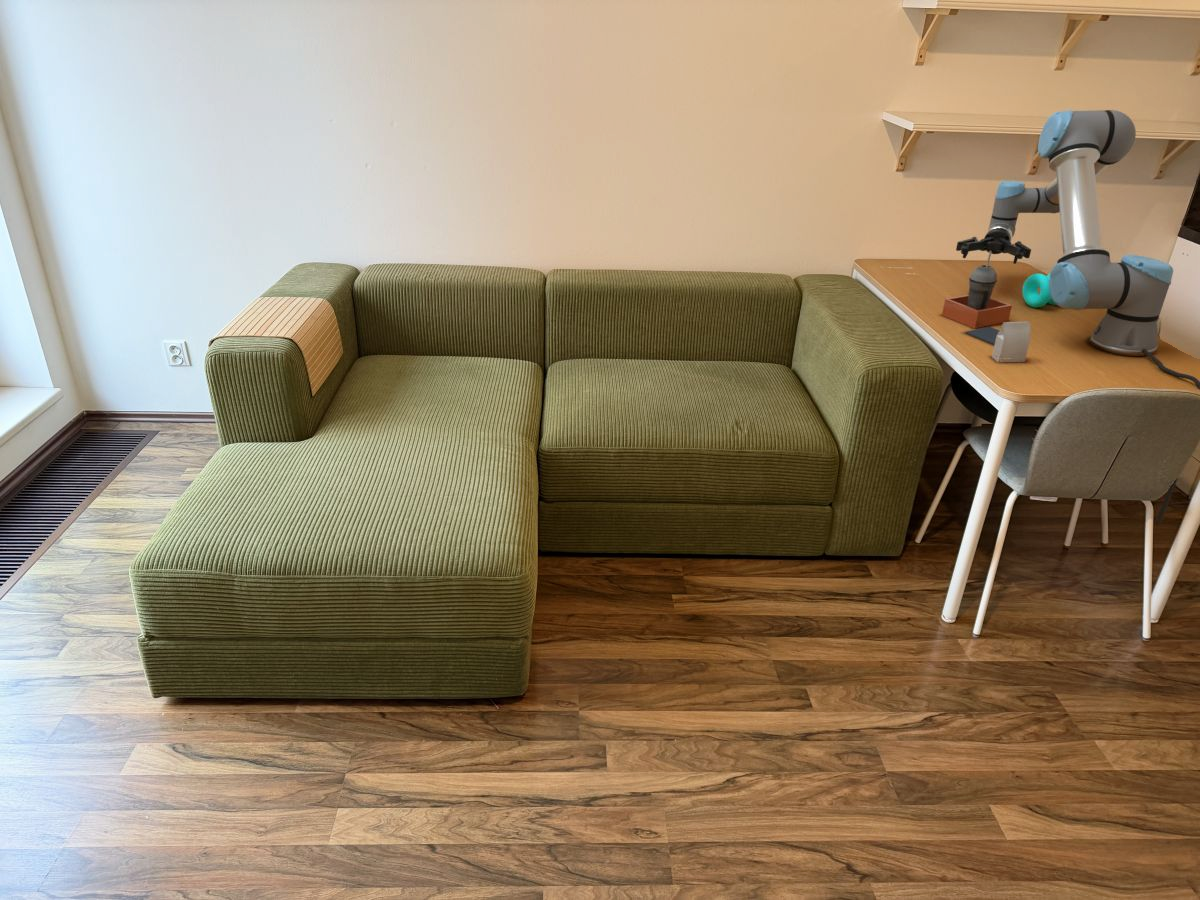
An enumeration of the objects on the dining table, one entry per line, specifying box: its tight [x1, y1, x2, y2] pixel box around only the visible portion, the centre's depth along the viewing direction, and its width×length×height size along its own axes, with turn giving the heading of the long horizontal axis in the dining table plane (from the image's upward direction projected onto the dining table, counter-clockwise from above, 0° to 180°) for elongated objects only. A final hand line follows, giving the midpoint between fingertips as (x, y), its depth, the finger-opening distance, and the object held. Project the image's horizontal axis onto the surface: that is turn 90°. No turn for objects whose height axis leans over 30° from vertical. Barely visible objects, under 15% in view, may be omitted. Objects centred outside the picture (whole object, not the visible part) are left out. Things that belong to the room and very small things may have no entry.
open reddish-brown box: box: [941, 294, 1013, 329], centre depth 231 cm, size 13×13×5 cm
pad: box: [965, 326, 1000, 346], centre depth 219 cm, size 10×9×1 cm
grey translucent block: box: [991, 321, 1032, 363], centre depth 203 cm, size 4×7×10 cm, turn 91°
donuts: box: [1021, 273, 1058, 308], centre depth 239 cm, size 10×10×10 cm
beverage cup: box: [967, 251, 998, 310], centre depth 228 cm, size 7×7×20 cm
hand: (989, 256), depth 232 cm, fingers open, 13 cm apart
